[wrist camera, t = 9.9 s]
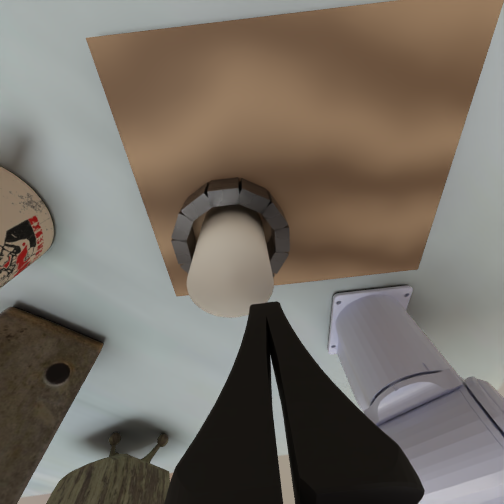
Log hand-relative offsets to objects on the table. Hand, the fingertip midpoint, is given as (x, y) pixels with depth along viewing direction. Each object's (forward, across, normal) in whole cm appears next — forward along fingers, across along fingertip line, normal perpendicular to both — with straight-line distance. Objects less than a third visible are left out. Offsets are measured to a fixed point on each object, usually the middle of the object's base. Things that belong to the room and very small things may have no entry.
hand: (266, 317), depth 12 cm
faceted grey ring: (+9, +2, -1) cm, 9 cm away
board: (+10, -3, -4) cm, 11 cm away
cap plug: (+9, +2, -1) cm, 9 cm away
